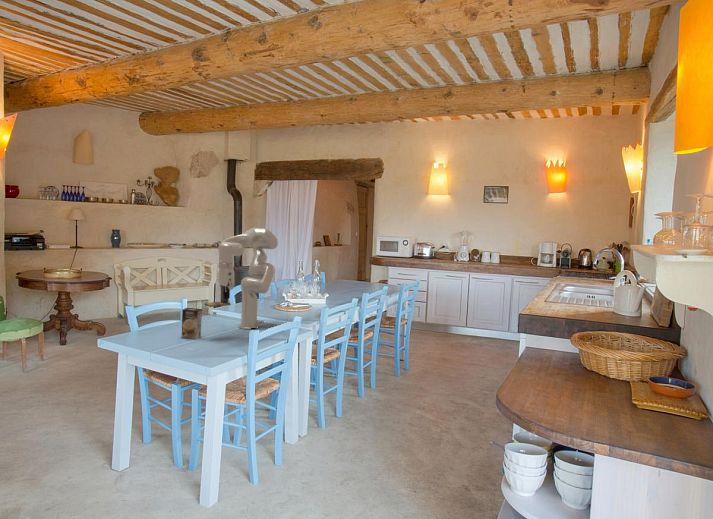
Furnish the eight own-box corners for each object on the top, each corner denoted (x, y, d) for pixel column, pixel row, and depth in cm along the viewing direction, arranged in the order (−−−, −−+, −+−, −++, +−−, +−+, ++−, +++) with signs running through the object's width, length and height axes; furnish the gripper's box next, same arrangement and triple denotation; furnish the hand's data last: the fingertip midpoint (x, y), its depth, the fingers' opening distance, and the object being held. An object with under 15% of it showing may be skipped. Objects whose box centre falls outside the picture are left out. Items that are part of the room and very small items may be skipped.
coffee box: (180, 338, 275) (181, 309, 274) (185, 335, 282) (186, 307, 280) (196, 339, 275) (197, 310, 273) (201, 336, 281) (202, 308, 280)
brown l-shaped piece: (224, 302, 284) (225, 283, 283) (230, 305, 279) (231, 285, 278) (204, 304, 276) (205, 285, 275) (210, 307, 271) (210, 287, 270)
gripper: (239, 267, 274) (238, 300, 276) (225, 263, 287) (224, 295, 288) (226, 267, 269) (225, 301, 271) (213, 264, 282) (212, 296, 283)
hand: (225, 297), depth 280 cm, fingers closed on brown l-shaped piece, 3 cm apart
